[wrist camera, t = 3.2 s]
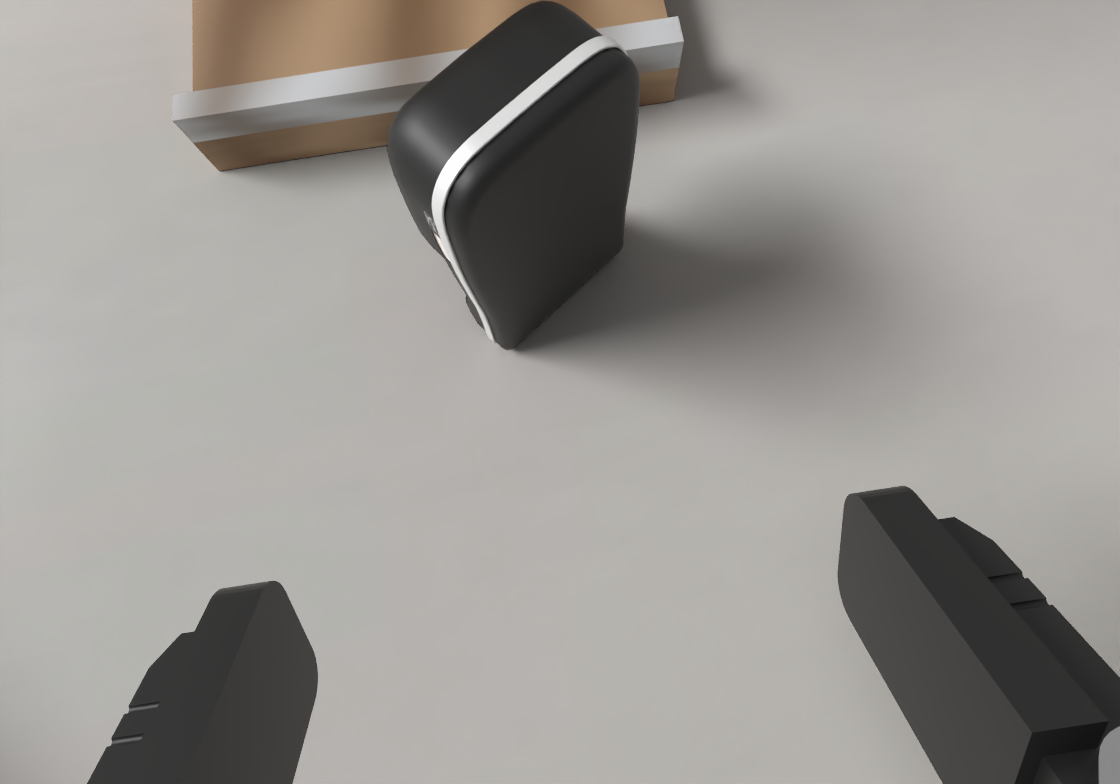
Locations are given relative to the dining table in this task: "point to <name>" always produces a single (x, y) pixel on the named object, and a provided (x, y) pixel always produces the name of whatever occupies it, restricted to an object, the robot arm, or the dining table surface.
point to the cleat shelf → (362, 67)
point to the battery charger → (522, 164)
